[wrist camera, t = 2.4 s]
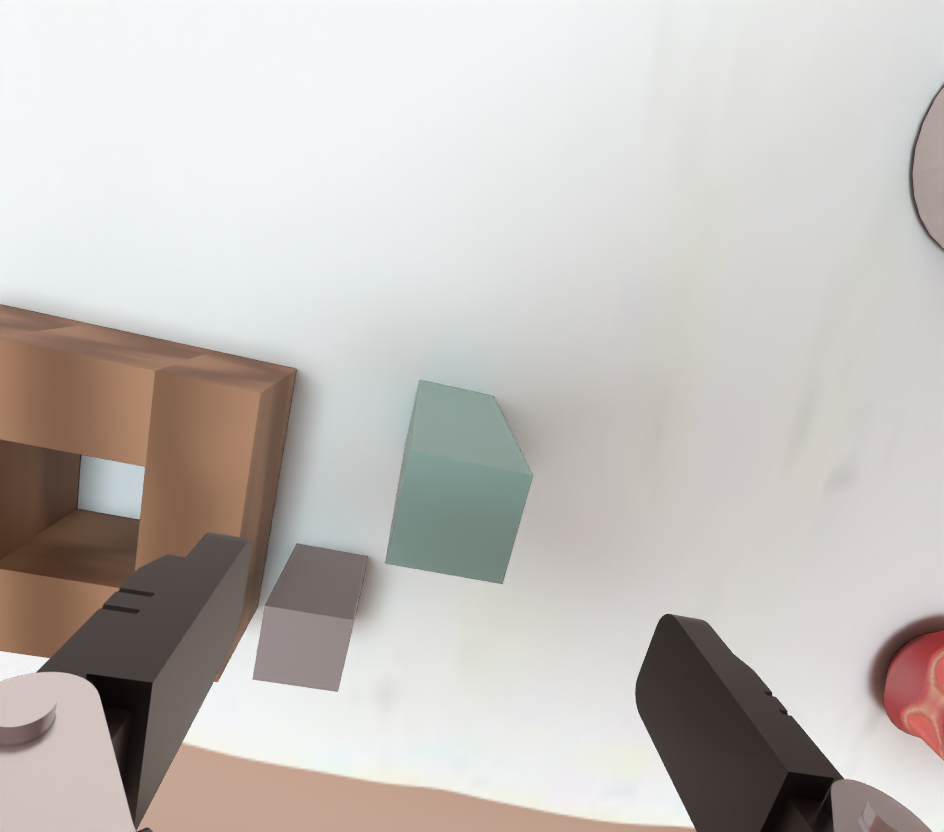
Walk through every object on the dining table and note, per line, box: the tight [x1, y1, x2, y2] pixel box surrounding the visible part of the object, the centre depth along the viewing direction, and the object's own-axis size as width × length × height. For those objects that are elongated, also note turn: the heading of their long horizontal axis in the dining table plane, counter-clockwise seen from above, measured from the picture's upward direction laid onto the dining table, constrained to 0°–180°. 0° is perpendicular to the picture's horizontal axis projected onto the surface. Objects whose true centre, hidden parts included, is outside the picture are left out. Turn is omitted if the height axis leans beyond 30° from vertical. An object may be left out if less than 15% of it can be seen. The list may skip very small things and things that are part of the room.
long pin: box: [385, 380, 533, 584], centre depth 20 cm, size 3×3×10 cm
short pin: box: [253, 544, 368, 692], centre depth 24 cm, size 3×3×5 cm
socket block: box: [0, 304, 297, 682], centre depth 22 cm, size 12×12×5 cm
